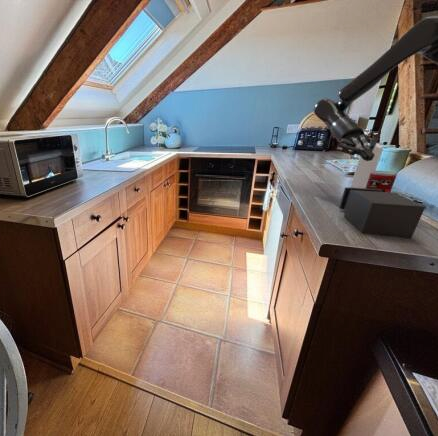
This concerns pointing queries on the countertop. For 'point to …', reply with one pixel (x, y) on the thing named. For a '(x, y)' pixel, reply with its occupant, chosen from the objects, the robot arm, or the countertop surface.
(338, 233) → the countertop surface
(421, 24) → the robot arm
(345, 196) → the black angled strip
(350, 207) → the dark grey box
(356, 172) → the milk
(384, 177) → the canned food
